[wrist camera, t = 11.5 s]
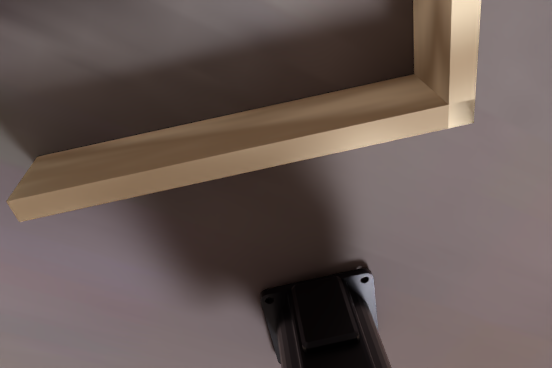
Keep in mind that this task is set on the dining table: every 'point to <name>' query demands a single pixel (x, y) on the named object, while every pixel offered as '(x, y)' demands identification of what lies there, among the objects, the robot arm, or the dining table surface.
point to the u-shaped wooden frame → (273, 127)
